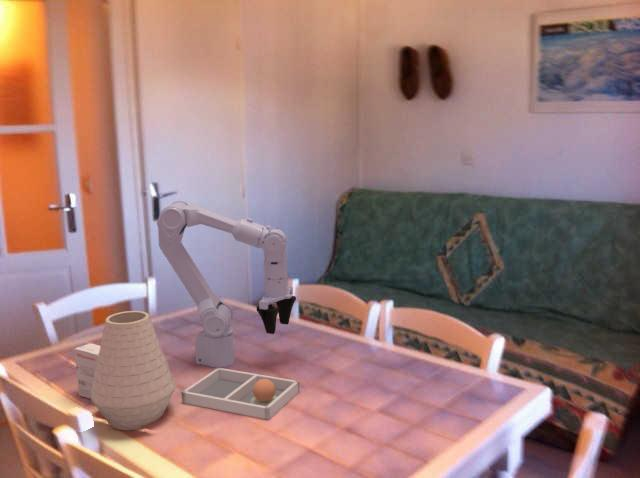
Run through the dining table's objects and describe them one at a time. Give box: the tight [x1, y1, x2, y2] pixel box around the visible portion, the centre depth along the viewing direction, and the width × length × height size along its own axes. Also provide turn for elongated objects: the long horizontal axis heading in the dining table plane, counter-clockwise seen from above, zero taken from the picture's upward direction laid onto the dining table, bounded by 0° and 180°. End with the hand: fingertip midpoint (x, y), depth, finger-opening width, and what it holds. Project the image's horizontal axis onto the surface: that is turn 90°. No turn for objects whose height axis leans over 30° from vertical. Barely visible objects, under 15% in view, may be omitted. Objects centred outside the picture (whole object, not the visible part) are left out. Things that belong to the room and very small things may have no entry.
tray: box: [181, 367, 300, 421], centre depth 148 cm, size 22×15×4 cm
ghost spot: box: [250, 395, 277, 406], centre depth 146 cm, size 6×6×1 cm
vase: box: [90, 310, 176, 432], centre depth 139 cm, size 17×17×23 cm
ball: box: [253, 379, 275, 402], centre depth 145 cm, size 5×5×5 cm
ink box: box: [73, 342, 100, 400], centre depth 152 cm, size 9×5×12 cm, turn 58°
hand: (277, 328), depth 167 cm, fingers open, 7 cm apart
